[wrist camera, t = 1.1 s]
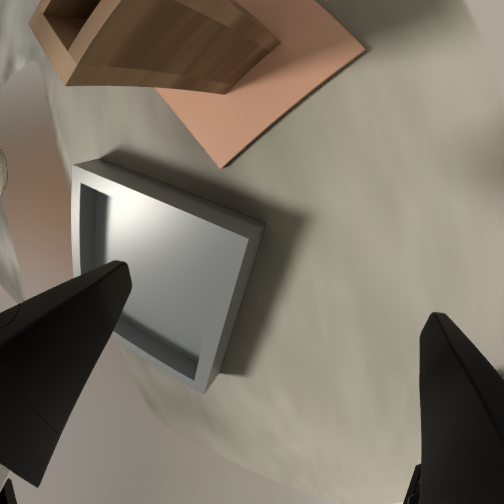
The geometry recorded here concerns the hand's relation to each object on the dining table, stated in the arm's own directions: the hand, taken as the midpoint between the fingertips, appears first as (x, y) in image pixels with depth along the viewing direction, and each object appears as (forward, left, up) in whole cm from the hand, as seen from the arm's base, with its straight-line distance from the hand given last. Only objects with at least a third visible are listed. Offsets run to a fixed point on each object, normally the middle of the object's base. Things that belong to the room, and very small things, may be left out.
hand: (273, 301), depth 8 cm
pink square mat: (+11, -6, -12) cm, 17 cm away
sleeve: (+10, -6, -12) cm, 17 cm away
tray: (+9, +13, -12) cm, 20 cm away
